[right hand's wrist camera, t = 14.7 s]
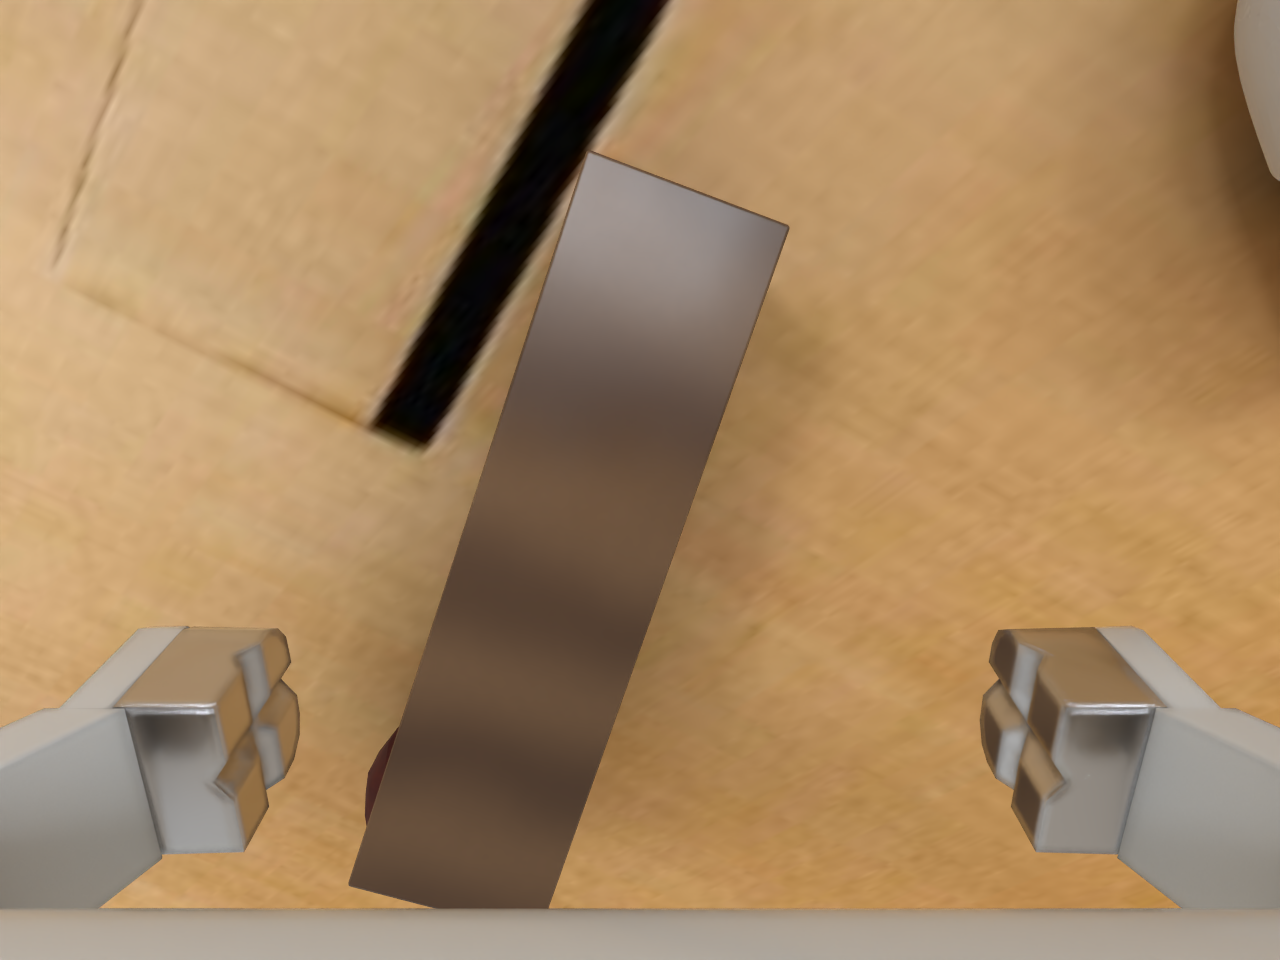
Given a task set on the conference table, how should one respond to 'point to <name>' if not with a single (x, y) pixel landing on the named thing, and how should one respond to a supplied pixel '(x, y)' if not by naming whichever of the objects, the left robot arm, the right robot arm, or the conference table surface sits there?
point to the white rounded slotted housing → (1261, 71)
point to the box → (568, 539)
